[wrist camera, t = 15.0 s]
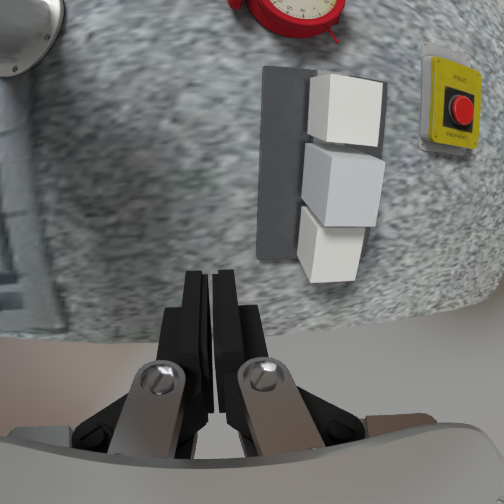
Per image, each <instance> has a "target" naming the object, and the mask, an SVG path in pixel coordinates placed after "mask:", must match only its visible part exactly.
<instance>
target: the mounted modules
mask: <svg viewBox="0 0 504 504" xmlns="http://www.w3.org/2000/svg"><path fill="white" fill-rule="evenodd" d="M382 87H383V83H380V82H375V81H370V80H365V79H360V78H354V77H348V76H342V75H336V74H326V75H321V76H316V77H311V78H310V94H309V113H308V130H307V134H309V135H312V136H314V137H316V138H319V139H321V140H324V141H326V142H337V143H348V144H357V145H366V146H375V147H377V146H378V137H379V127H380V116H381V103H382ZM364 234H365V227H362V226H324V225H323V224H322V223H321V222H320V220H319V219H318V218H317V217H316V215H315V214H314V213H313V212H312V210H311V209H310V208H309V207H308V206H302V208H301V219H300V229H299V239H298V249H297V256H298V259H299V261H300V263H301V265H302V267H303V269H304V271H305V273H306V275H307V277H308V279H309V281H310V283H321V282H339V281H355V278H356V273H357V269H358V264H359V259H360V254H361V250H362V244H363V239H364Z"/></svg>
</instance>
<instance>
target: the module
mask: <svg viewBox="0 0 504 504" xmlns="http://www.w3.org/2000/svg"><path fill="white" fill-rule="evenodd" d="M384 169H385V161H382V160H380V159H378V158H376V157H373V156H371V155H369V154H367V153H364V152H362V151H360V150H357V149H355V148H352V147H350V146H340V145H328V144H315V143H305V157H304V170H303V183H302V195H301V198H302V199H303V200H304V202H305V203H306V204H307V205H308V207H309V208H310V209H311V210H312V212H313V213H314V214H315V215H316V217H317V218H318V219H319V220H320V222H321V223H322V224H323V225H324V226H362V227H375V224H376V219H377V214H378V208H379V202H380V196H381V190H382V183H383V176H384Z"/></svg>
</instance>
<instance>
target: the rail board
mask: <svg viewBox="0 0 504 504" xmlns="http://www.w3.org/2000/svg"><path fill="white" fill-rule="evenodd" d="M326 74H336V75H342V76H348V77H354V78H360V79H365V80H370V81H375V82H380V83H383V87H382V103H381V116H380V127H379V137H378V146H377V147H375V146H366V145H357V144H348V143H337V142H326V141H324V140H321V139H319V138H316V137H314V136H312V135H309V134H307V130H308V113H309V94H310V78H311V77H316V76H321V75H326ZM386 99H387V83H386V82H381V81H377V80H372V79H367V78H362V77H356V76H351V75H349V74H345V73H339V72H333V71H326V70H309V69H299V68H289V67H276V66H264V67H263V70H262V99H261V128H260V156H259V183H258V209H257V236H256V256H257V260H259V259H296V258H298V256H297V249H298V239H299V229H300V219H301V208H302V206H308V205H307V204H306V203H305V202H304V200H303V199H302V198H301V195H302V183H303V170H304V157H305V143H315V144H328V145H340V146H350V147H352V148H355V149H357V150H360V151H362V152H364V153H367V154H369V155H371V156H373V157H376V158H378V159H380V160H381V152H382V144H383V134H384V124H385V112H386ZM369 230H370V227H365V234H364V239H363V244H362V250H361V254H360V257H363V256H365V251H366V246H367V241H368V236H369Z"/></svg>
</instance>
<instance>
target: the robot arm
mask: <svg viewBox="0 0 504 504" xmlns="http://www.w3.org/2000/svg"><path fill="white" fill-rule="evenodd" d="M63 15H64V5H63V0H0V76H2V77H12V76H17V75H20V74H22V73H24V72H26V71H28V70H29V69H31V68H32V67H34V66H35V65H36V64H37V63H38V62H39V61H40V60H41V59H42V58H43V57H44V56H45V55H46V53H47V52H48V51H49V49H50V48H51V46H52V45H53V43H54V41H55V39H56V37H57V35H58V33H59V31H60V28H61V25H62V20H63ZM49 38H50V39H49ZM212 282H213V338H214V359H215V370H216V382H217V393H218V403H219V412H220V413H226V418H227V424H229V425H230V426H231V427H233V428H234V429H236V430H237V431H238V433H239V438H240V442H241V445H242V448H243V451H244V455H245V458H229V459H194V455H195V449H196V443H197V438H198V437H197V436H198V435H197V431H199V430H200V429H201V428H202V427H204V426H205V425H206V422H208V413H214V396H213V367H212V333H211V319H210V304H209V288H208V274H203V275H202V271H186V275H185V283H184V291H183V300H182V307H169V308H165V311H164V316H163V321H162V327H161V333H160V339H159V345H158V351H157V358H156V361H153V362H150V363H147V364H145V365H143V366H142V367H141V368H140V369H139V370H138V372H137V373H136V375H135V377H134V380H133V383H132V385H131V388H130V391H129V393H127V394H126V395H124V396H123V397H121V398H120V399H118V400H117V401H115V402H114V403H112V404H111V405H109V406H107V407H106V408H104V409H103V410H101V411H100V412H98V413H96V414H95V415H94V416H92V417H90V418H89V419H87V420H85V421H84V422H82V423H81V424H80V425H79V426H77V427H76V428H71V427H70V426H39V427H16V428H14V429H13V430H11V431H10V432H9V434H8V435H7V436H0V504H504V458H503V456H502V454H501V452H500V451H499V449H498V448H497V447H496V445H495V444H494V443H493V441H492V440H491V439H490V438H489V436H488V435H487V434H486V433H485V432H484V431H482V430H481V429H479V428H478V427H475V426H473V425H469V424H463V423H450V422H449V423H437V421H436V420H435V419H434V418H433V417H432V416H430V415H428V414H426V413H412V414H397V415H377V416H376V415H373V416H366V418H365V419H358V418H357V417H356V416H354V415H353V414H351V413H349V412H346V411H345V410H343V409H340V408H338V407H336V406H334V405H332V404H330V403H328V402H326V401H324V400H322V399H321V398H319V397H316V396H315V395H313V394H311V393H309V392H307V391H305V390H303V389H301V388H300V387H298V386H296V384H295V382H294V380H293V378H292V376H291V374H290V372H289V370H288V368H287V367H286V366H285V365H284V364H283V363H282V362H280V361H278V360H276V359H273V358H269V357H268V352H267V348H266V343H265V338H264V333H263V329H262V324H261V319H260V314H259V310H258V306H257V305H239V306H238V301H237V293H236V285H235V277H234V270H218V274H212Z"/></svg>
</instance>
